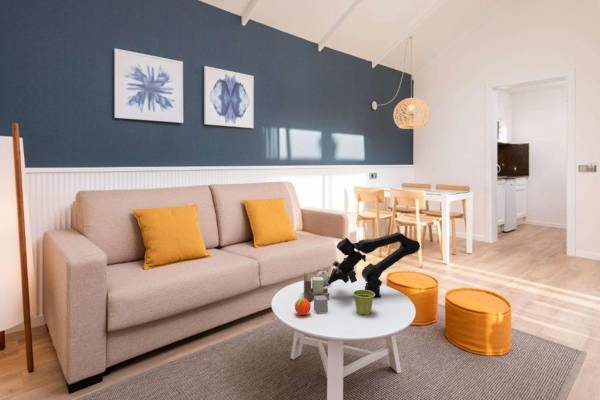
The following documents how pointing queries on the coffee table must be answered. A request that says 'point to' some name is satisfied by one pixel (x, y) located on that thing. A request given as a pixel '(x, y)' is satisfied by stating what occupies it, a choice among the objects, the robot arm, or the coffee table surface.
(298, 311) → the clementine
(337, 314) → the coffee table surface
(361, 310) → the plant pot
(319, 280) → the pale green block
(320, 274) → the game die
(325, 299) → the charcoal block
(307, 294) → the walnut console
